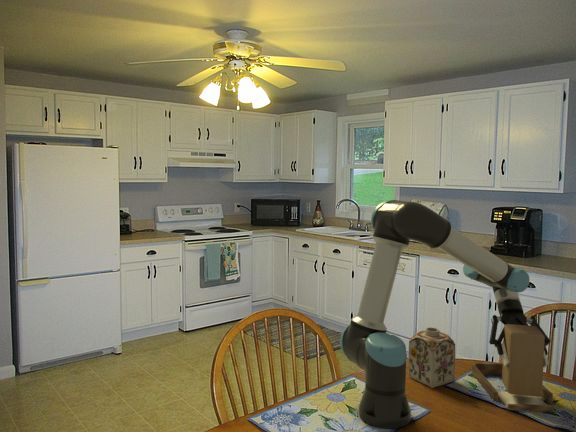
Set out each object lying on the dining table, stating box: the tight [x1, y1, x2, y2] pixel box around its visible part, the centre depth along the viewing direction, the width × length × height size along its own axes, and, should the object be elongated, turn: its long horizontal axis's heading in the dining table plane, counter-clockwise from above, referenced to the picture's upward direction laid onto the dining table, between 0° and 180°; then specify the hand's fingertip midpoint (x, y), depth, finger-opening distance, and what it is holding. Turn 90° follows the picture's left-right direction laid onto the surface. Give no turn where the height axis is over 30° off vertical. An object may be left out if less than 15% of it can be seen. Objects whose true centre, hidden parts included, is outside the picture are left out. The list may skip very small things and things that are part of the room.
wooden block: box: [501, 324, 545, 398], centre depth 153 cm, size 10×10×20 cm
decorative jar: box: [407, 326, 456, 389], centre depth 169 cm, size 12×12×18 cm
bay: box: [471, 362, 554, 413], centre depth 160 cm, size 18×28×4 cm, turn 176°
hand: (526, 365), depth 150 cm, fingers closed on wooden block, 11 cm apart
